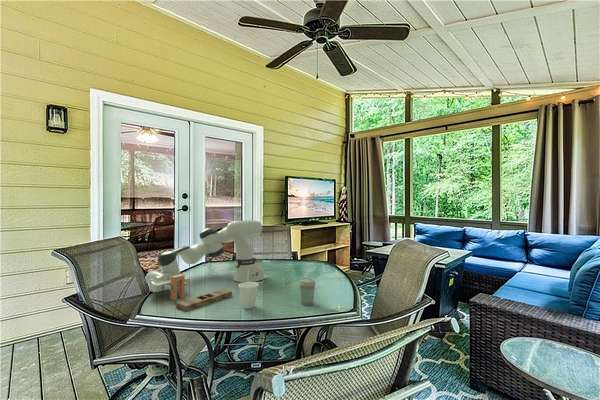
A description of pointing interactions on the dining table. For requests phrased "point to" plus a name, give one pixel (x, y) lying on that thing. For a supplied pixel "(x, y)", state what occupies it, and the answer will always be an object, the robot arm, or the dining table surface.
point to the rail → (203, 299)
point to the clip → (178, 286)
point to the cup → (248, 294)
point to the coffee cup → (307, 290)
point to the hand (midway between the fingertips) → (178, 286)
